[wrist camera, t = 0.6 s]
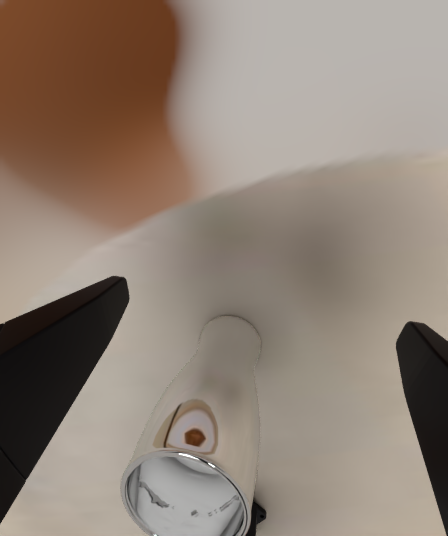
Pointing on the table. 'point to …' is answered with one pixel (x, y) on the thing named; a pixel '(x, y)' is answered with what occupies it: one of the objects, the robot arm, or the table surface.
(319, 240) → the table surface
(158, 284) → the table surface
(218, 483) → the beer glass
